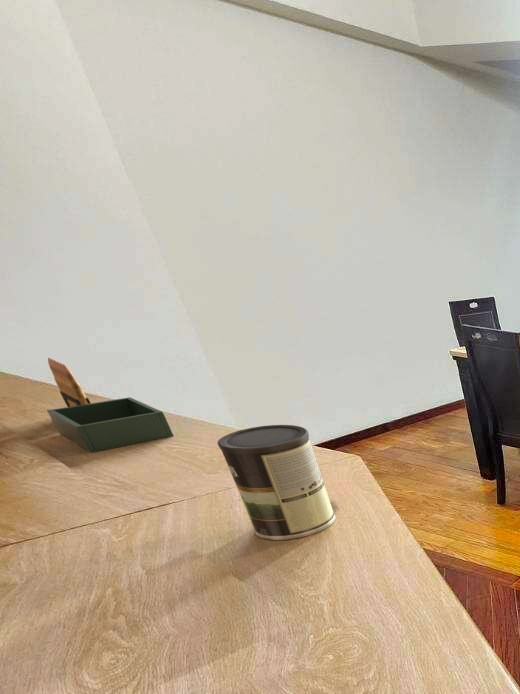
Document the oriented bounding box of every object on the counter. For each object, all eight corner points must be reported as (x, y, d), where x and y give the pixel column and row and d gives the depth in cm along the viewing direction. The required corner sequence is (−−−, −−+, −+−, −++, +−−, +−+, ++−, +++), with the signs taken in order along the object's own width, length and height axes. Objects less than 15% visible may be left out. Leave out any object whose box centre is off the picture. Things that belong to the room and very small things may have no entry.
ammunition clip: (71, 414, 128) (41, 357, 122) (82, 412, 130) (53, 356, 124) (89, 424, 124) (58, 365, 118) (100, 422, 125) (71, 364, 119)
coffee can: (249, 546, 84) (209, 452, 76) (261, 516, 91) (225, 428, 84) (334, 533, 88) (303, 442, 81) (338, 505, 96) (310, 421, 89)
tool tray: (90, 452, 110) (76, 427, 108) (60, 434, 118) (46, 410, 115) (173, 435, 120) (162, 411, 117) (141, 420, 127) (130, 397, 124)
